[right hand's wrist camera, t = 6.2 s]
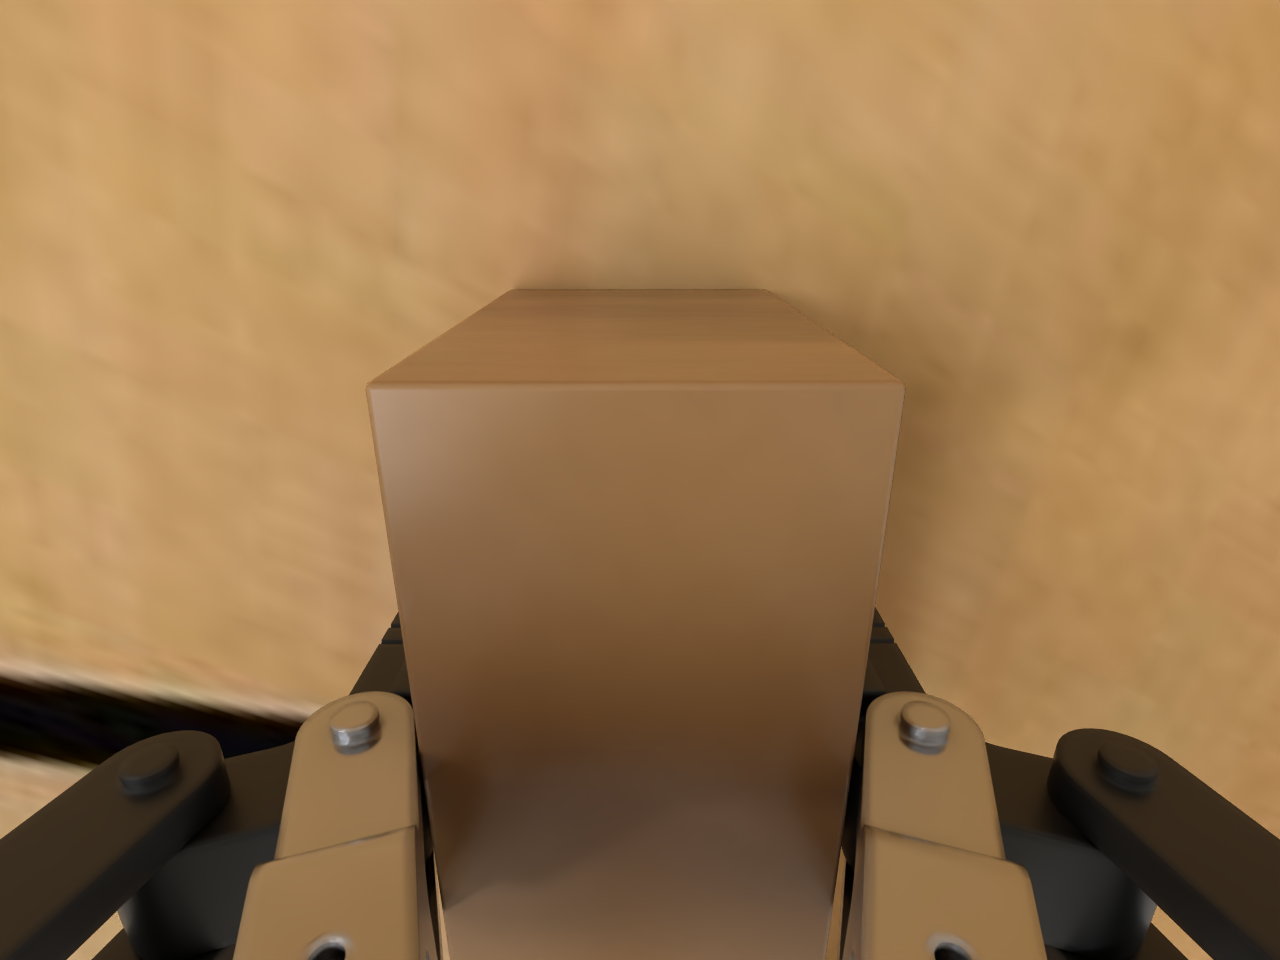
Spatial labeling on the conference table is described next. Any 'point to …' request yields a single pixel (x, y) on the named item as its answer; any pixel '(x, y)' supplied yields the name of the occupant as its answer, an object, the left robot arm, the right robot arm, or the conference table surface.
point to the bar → (636, 615)
